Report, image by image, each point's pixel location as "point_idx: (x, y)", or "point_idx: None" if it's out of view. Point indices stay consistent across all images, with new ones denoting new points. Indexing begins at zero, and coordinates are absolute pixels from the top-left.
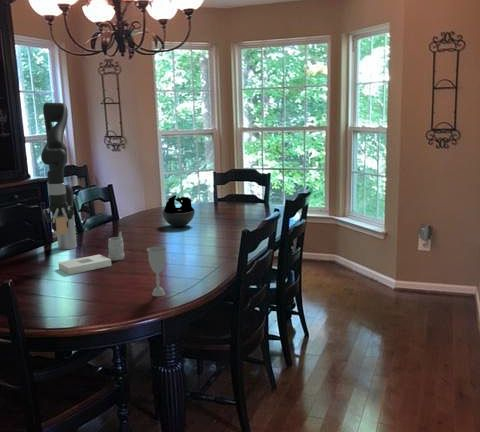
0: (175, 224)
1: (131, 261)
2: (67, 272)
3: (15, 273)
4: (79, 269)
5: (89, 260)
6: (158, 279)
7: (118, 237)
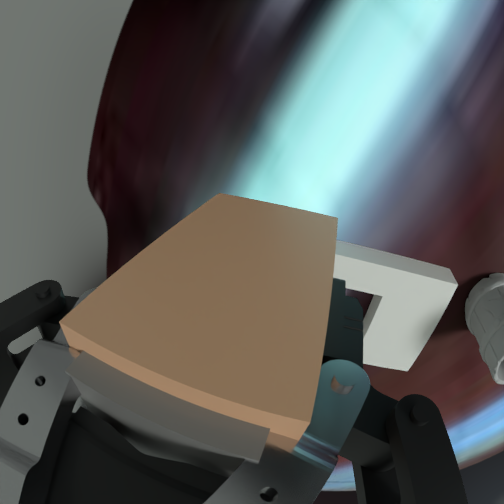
0: None
1: (468, 361)
2: None
3: (117, 141)
4: None
5: (378, 300)
6: None
7: None
